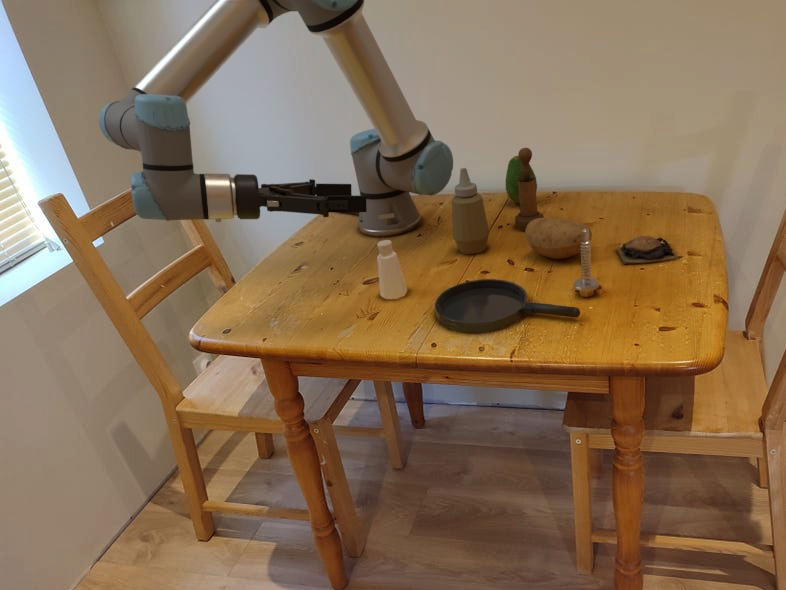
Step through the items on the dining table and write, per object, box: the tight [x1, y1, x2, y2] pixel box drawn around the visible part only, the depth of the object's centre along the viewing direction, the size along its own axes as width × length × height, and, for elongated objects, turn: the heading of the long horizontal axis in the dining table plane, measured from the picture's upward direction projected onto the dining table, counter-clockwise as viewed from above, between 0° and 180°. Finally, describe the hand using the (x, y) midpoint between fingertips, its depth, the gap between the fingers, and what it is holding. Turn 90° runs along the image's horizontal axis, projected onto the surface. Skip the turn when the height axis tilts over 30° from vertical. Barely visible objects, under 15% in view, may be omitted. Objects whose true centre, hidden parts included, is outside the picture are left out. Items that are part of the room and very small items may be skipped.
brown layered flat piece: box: [616, 235, 676, 265], centre depth 132 cm, size 11×8×4 cm
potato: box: [524, 217, 593, 260], centre depth 134 cm, size 10×14×8 cm
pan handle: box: [522, 301, 581, 319], centre depth 115 cm, size 11×2×2 cm, turn 66°
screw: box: [572, 228, 600, 298], centre depth 118 cm, size 13×5×5 cm
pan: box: [434, 278, 529, 334], centre depth 120 cm, size 17×17×2 cm
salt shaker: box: [376, 239, 408, 300], centre depth 127 cm, size 5×5×11 cm
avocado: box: [505, 155, 538, 205], centre depth 162 cm, size 8×8×12 cm
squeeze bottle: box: [451, 167, 490, 255], centre depth 139 cm, size 8×8×18 cm
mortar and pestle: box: [514, 147, 544, 232], centre depth 148 cm, size 7×6×18 cm
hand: (358, 197), depth 119 cm, fingers open, 13 cm apart
